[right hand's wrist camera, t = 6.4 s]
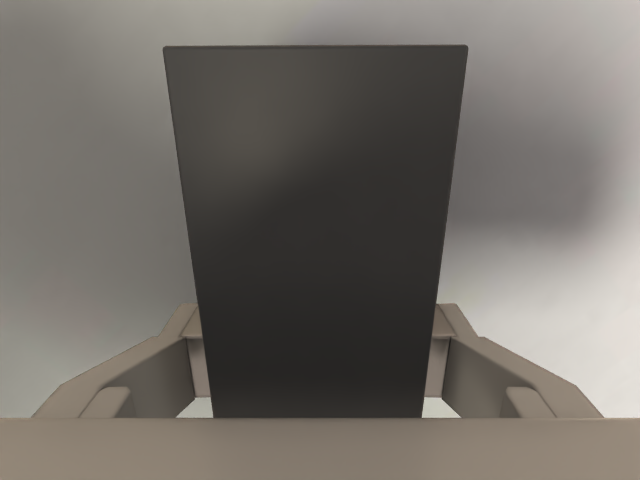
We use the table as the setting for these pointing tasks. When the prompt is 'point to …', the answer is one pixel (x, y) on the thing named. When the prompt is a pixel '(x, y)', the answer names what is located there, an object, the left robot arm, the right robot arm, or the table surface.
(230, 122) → the bar
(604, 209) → the table surface
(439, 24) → the table surface
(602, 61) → the table surface
